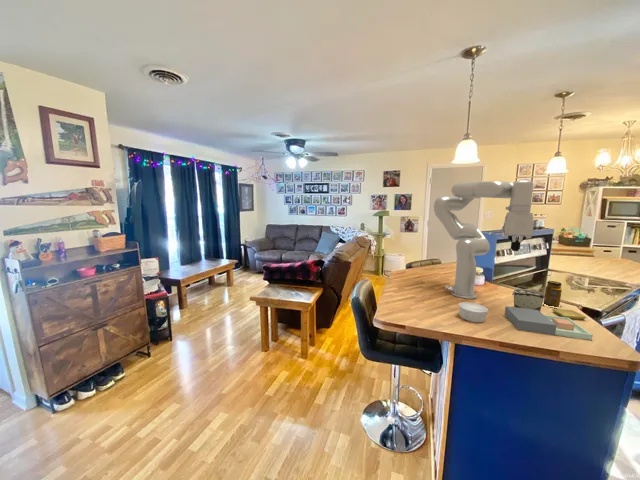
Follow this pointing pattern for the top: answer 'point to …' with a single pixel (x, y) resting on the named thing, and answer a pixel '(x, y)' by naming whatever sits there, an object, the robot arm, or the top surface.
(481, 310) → the ramekin
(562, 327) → the tile
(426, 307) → the top surface
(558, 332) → the box
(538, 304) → the food container
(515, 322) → the ledge
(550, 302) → the condiment
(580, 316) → the olive flat square tray
